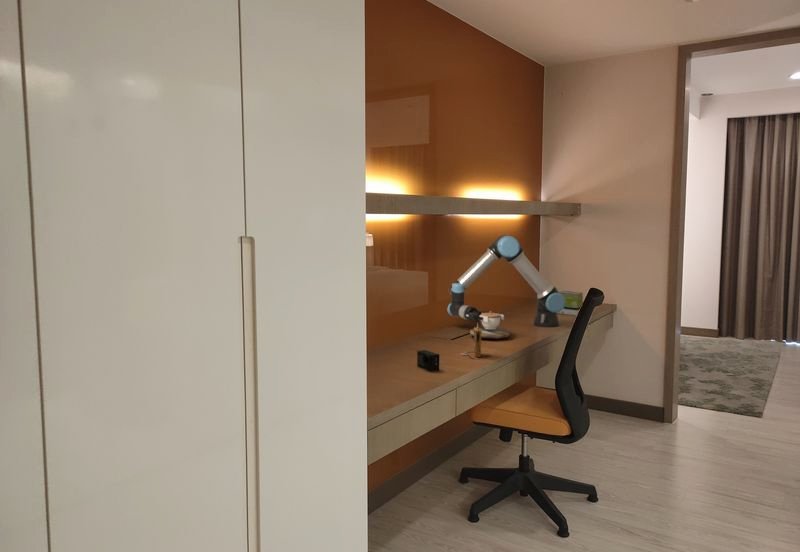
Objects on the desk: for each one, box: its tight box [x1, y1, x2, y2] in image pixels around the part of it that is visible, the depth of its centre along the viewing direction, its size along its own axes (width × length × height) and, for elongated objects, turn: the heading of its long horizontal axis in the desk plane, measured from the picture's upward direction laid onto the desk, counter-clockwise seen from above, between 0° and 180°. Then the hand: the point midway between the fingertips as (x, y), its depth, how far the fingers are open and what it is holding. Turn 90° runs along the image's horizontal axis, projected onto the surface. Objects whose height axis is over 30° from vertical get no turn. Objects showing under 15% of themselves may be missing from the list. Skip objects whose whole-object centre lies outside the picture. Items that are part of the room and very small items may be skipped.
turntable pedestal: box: [481, 337, 499, 340], centre depth 334 cm, size 10×10×1 cm
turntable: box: [469, 326, 512, 339], centre depth 334 cm, size 22×22×2 cm
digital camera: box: [416, 349, 440, 372], centre depth 268 cm, size 10×5×7 cm, turn 36°
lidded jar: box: [480, 310, 502, 329], centre depth 333 cm, size 11×11×9 cm
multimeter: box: [461, 314, 482, 360], centre depth 290 cm, size 15×10×20 cm
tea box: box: [557, 290, 584, 316], centre depth 413 cm, size 15×10×15 cm
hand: (495, 318), depth 330 cm, fingers closed on lidded jar, 11 cm apart
